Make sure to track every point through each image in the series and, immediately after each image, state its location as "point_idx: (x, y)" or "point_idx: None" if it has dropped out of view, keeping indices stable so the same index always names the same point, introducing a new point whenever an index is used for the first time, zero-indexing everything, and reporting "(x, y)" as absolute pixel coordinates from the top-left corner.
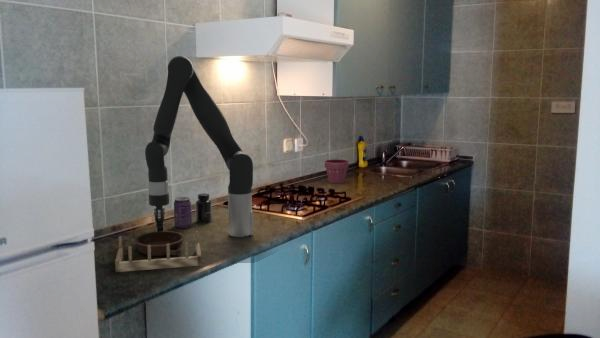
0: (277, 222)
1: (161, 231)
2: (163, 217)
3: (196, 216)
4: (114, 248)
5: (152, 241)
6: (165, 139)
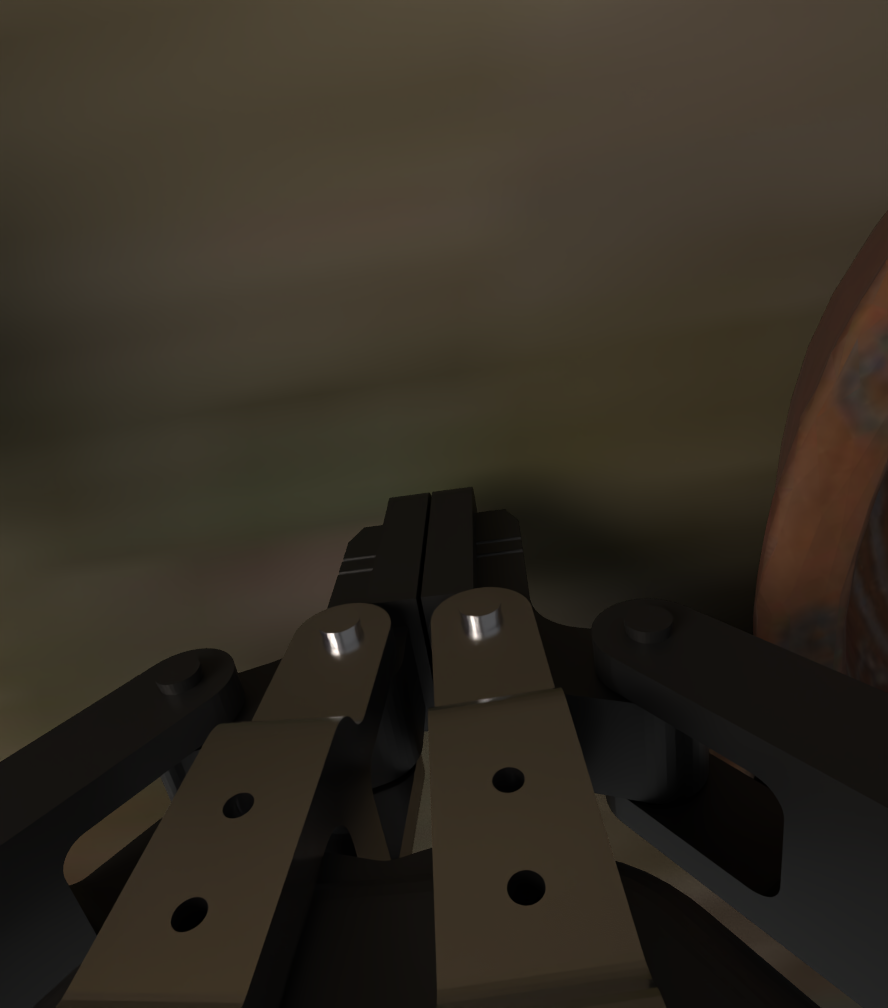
0: None
1: (837, 568)
2: (607, 841)
3: None
4: (800, 984)
5: (849, 626)
6: None
